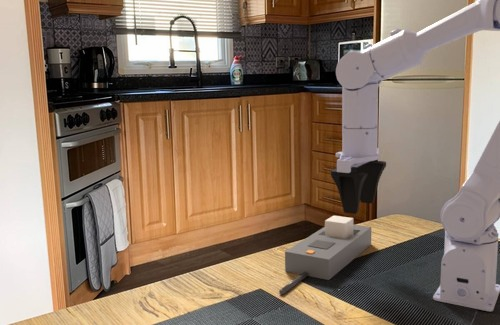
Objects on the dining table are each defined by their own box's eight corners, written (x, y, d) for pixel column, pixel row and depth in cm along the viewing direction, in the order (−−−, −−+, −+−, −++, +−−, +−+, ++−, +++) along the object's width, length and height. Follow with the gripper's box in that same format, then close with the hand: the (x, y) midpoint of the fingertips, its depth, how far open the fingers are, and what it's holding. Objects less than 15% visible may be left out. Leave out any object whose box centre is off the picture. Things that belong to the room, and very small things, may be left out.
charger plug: (345, 249, 93) (345, 223, 92) (324, 246, 95) (324, 220, 95) (353, 243, 97) (353, 218, 96) (333, 240, 99) (333, 215, 98)
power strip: (304, 300, 75) (304, 277, 74) (258, 290, 79) (257, 267, 79) (371, 244, 99) (371, 225, 98) (332, 238, 103) (332, 220, 103)
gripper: (353, 122, 92) (352, 196, 94) (318, 131, 80) (319, 215, 82) (391, 123, 88) (390, 200, 90) (361, 132, 76) (361, 220, 78)
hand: (359, 207), depth 86 cm, fingers open, 7 cm apart
